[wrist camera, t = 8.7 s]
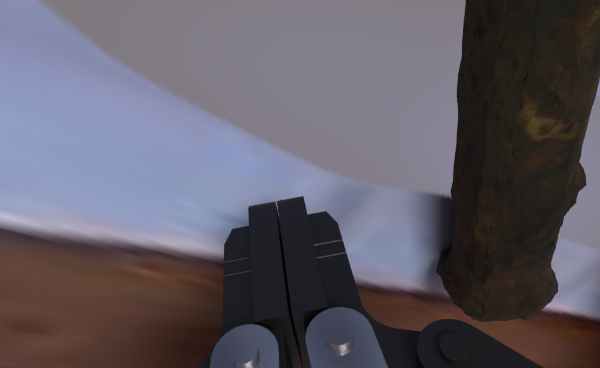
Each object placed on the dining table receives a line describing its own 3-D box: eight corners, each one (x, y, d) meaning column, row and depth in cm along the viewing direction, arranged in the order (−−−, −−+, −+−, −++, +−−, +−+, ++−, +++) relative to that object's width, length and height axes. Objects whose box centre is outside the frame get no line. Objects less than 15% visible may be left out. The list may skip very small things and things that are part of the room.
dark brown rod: (513, 240, 19) (583, 330, 15) (427, 259, 19) (476, 354, 15) (682, -524, 7) (1187, -964, 3) (454, -477, 7) (709, -868, 3)
